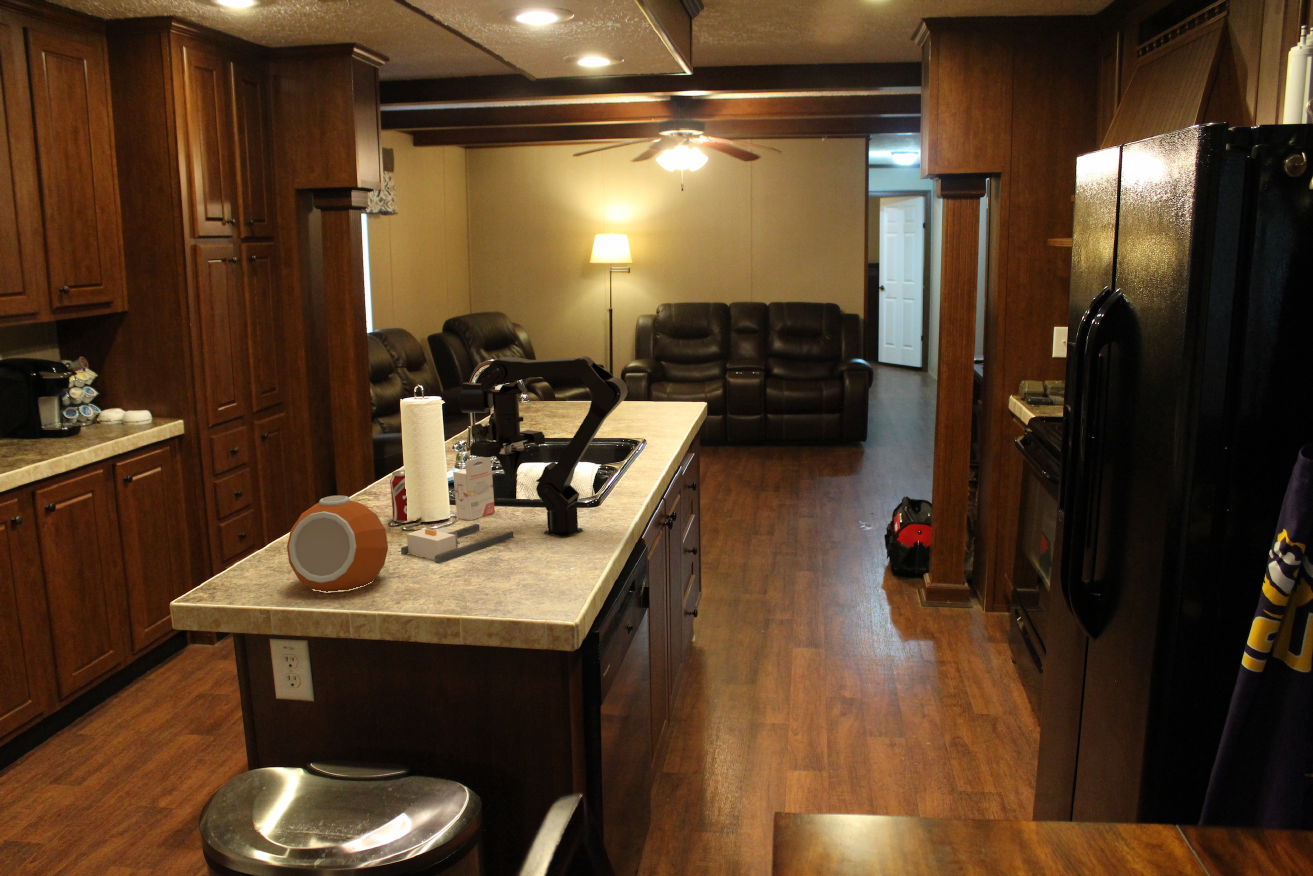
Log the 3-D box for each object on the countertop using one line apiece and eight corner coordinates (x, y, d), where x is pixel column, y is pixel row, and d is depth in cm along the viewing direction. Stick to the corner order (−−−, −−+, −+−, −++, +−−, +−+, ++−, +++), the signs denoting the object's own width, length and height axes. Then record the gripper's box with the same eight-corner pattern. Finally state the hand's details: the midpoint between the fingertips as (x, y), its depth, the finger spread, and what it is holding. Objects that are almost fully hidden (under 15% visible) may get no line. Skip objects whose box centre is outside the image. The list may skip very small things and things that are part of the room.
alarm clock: (274, 597, 197) (265, 509, 194) (316, 568, 214) (308, 487, 211) (369, 599, 194) (361, 510, 191) (404, 570, 212) (397, 488, 208)
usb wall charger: (448, 544, 229) (447, 526, 228) (463, 550, 224) (462, 533, 223) (432, 547, 227) (430, 530, 226) (447, 554, 221) (446, 536, 221)
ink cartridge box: (481, 510, 257) (477, 452, 254) (495, 513, 254) (491, 454, 251) (455, 518, 250) (451, 459, 248) (469, 521, 247) (465, 461, 245)
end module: (456, 555, 220) (454, 530, 219) (438, 561, 216) (436, 536, 215) (426, 548, 226) (424, 524, 225) (408, 554, 222) (406, 529, 221)
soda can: (410, 515, 254) (406, 468, 252) (427, 519, 250) (424, 471, 248) (387, 521, 249) (383, 473, 247) (404, 525, 245) (400, 476, 243)
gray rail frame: (513, 537, 232) (513, 531, 232) (438, 563, 215) (438, 556, 215) (476, 530, 239) (476, 523, 239) (401, 554, 222) (400, 547, 222)
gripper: (510, 404, 244) (514, 468, 247) (450, 416, 230) (455, 484, 233) (544, 407, 238) (548, 473, 241) (485, 420, 223) (490, 490, 226)
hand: (510, 480), depth 235 cm, fingers closed
